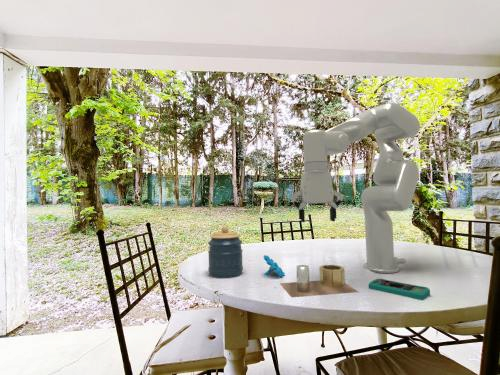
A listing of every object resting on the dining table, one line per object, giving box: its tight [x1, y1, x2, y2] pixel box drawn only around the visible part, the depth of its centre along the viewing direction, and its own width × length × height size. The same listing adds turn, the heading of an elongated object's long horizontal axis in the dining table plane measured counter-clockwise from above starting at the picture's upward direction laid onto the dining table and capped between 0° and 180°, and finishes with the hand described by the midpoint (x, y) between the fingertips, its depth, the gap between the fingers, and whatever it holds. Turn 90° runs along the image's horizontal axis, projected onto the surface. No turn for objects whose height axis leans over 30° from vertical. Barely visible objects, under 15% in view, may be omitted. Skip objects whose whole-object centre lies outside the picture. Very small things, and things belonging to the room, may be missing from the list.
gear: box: [263, 254, 286, 278], centre depth 101 cm, size 11×6×10 cm
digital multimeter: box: [368, 278, 431, 301], centre depth 81 cm, size 7×15×3 cm, turn 43°
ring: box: [318, 264, 346, 287], centre depth 89 cm, size 7×7×5 cm
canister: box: [207, 225, 244, 279], centre depth 106 cm, size 13×13×18 cm
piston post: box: [296, 264, 310, 293], centre depth 83 cm, size 4×4×7 cm
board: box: [279, 280, 360, 298], centre depth 85 cm, size 20×13×1 cm, turn 99°
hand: (317, 221), depth 91 cm, fingers open, 9 cm apart
